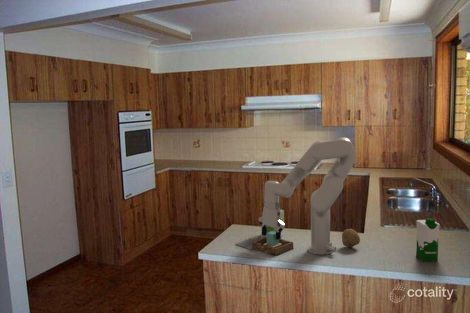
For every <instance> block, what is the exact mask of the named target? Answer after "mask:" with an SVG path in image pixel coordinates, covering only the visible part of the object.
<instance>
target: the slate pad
mask: <svg viewBox="0 0 470 313" xmlns="http://www.w3.org/2000/svg"><path fill="white" fill-rule="evenodd" d="M257 240H258V239H254V238H248V239H245V240H243V241H240V242H237V243H235V246H238V247H241V248H245V249H247V250H250V251H253V250H255V249H254V248H253V246H252V242H254V241H257Z"/></svg>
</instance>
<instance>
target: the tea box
mask: <svg viewBox="0 0 470 313" xmlns="http://www.w3.org/2000/svg"><path fill="white" fill-rule="evenodd" d="M280 210H281V218H282V222H283V223H284V224H285V210H284V209H280ZM266 227H267V233H268V232H271V231H274V232H277V231H276V229H275V228H273V227H269V226H266ZM280 227H281V226H280ZM278 229H279V228H278ZM283 234H284V235H285V228H284V229H283V230H282V231H281V238H282V237H283V236H284V235H283ZM265 237H267V234H265V235H262V234H261V239H263V238H265Z"/></svg>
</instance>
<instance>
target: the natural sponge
mask: <svg viewBox="0 0 470 313" xmlns="http://www.w3.org/2000/svg"><path fill="white" fill-rule="evenodd" d="M341 239H342V240H341V241H342V245H343V246H345V247H347V248H348V249H350V248H353V247H354V246H357V245H359V244H360V243H361V238H360V236H359V234H358V232H357V231H356V230H355V229H353V228H347V229H345V230H344V231H343V232H342V233H341Z"/></svg>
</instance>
